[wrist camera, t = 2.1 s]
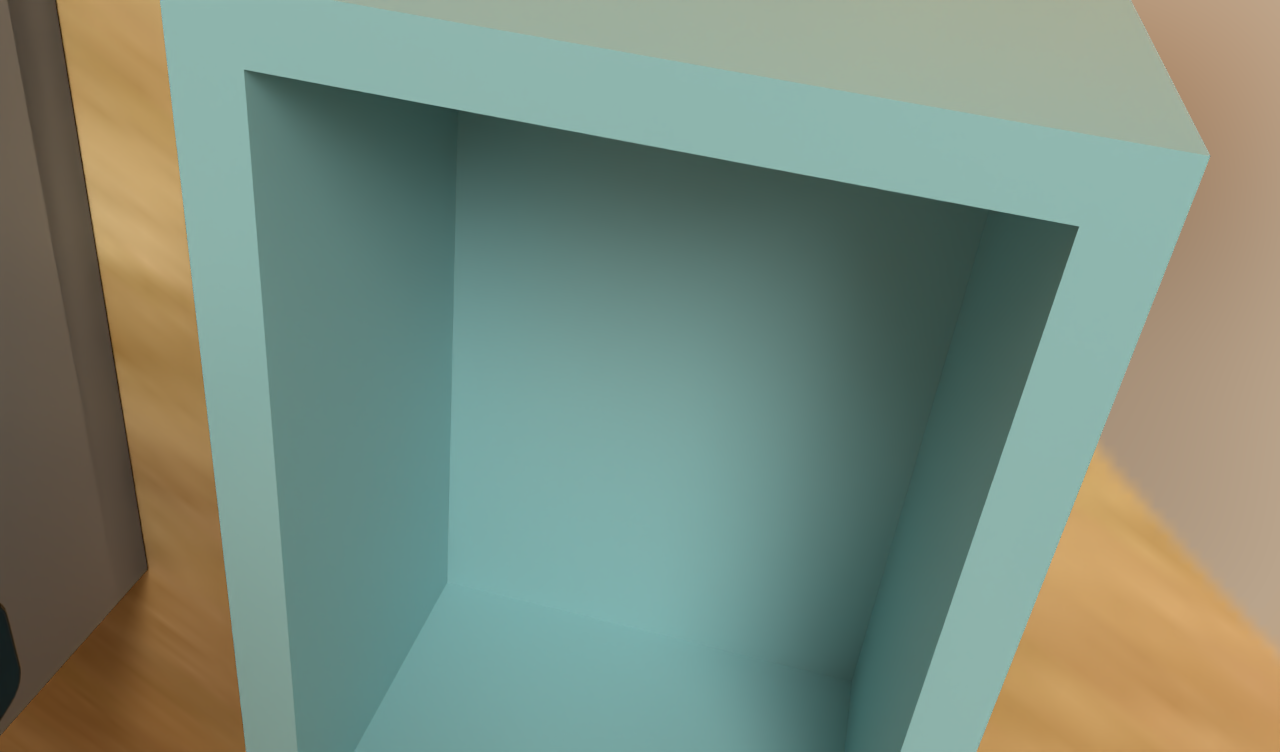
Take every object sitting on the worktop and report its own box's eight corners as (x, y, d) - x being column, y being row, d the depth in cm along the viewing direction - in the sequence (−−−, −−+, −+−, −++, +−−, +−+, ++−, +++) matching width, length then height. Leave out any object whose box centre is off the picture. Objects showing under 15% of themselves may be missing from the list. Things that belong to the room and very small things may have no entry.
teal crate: (1116, -28, 11) (1210, 155, 7) (888, 690, 17) (865, 1032, 13) (427, -138, 12) (156, -31, 8) (422, 576, 18) (258, 860, 13)
